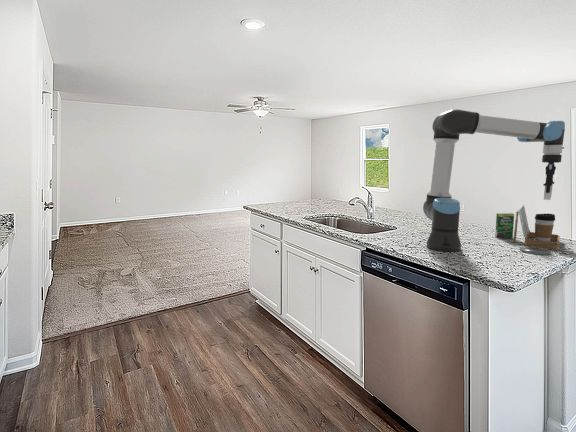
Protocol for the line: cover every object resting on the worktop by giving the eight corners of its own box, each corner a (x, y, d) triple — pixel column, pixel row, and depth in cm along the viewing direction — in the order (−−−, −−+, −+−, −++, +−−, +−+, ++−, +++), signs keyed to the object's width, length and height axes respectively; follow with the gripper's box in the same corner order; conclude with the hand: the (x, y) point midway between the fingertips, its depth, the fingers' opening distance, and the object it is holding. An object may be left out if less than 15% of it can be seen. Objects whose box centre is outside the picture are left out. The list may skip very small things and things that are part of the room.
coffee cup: (555, 246, 179) (559, 215, 176) (536, 245, 180) (539, 215, 178) (547, 242, 187) (550, 213, 184) (528, 241, 188) (532, 212, 186)
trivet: (542, 256, 161) (542, 254, 161) (514, 250, 171) (514, 249, 171) (556, 252, 167) (556, 251, 167) (528, 247, 177) (528, 245, 177)
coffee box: (496, 237, 197) (498, 213, 195) (494, 236, 200) (496, 212, 198) (512, 238, 196) (515, 214, 193) (510, 237, 198) (513, 213, 196)
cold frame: (558, 250, 171) (563, 212, 168) (512, 244, 182) (515, 209, 179) (559, 241, 188) (563, 207, 185) (516, 236, 199) (519, 204, 196)
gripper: (561, 154, 164) (556, 201, 168) (562, 154, 184) (557, 196, 187) (541, 154, 169) (536, 200, 172) (543, 154, 188) (539, 195, 192)
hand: (547, 198), depth 180 cm, fingers open, 13 cm apart
